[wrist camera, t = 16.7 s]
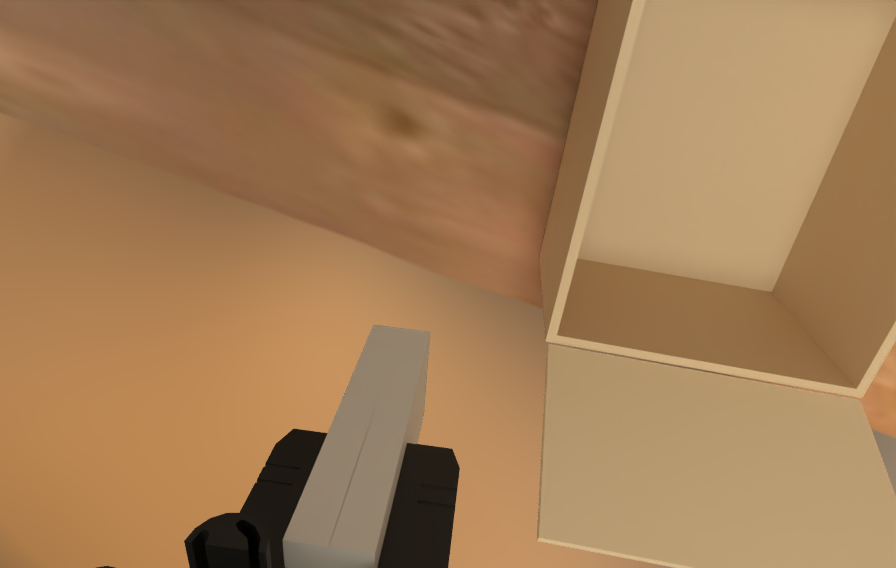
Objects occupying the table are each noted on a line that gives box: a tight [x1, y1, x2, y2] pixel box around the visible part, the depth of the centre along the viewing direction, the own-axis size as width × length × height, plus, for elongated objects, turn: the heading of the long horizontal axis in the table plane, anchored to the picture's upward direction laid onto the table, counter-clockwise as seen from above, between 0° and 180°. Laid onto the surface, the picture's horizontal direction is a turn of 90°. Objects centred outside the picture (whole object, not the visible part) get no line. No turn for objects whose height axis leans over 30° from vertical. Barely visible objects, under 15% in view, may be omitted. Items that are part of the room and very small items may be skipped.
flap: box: [537, 344, 896, 568], centre depth 32 cm, size 12×20×1 cm
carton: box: [539, 0, 896, 398], centre depth 37 cm, size 24×20×14 cm
